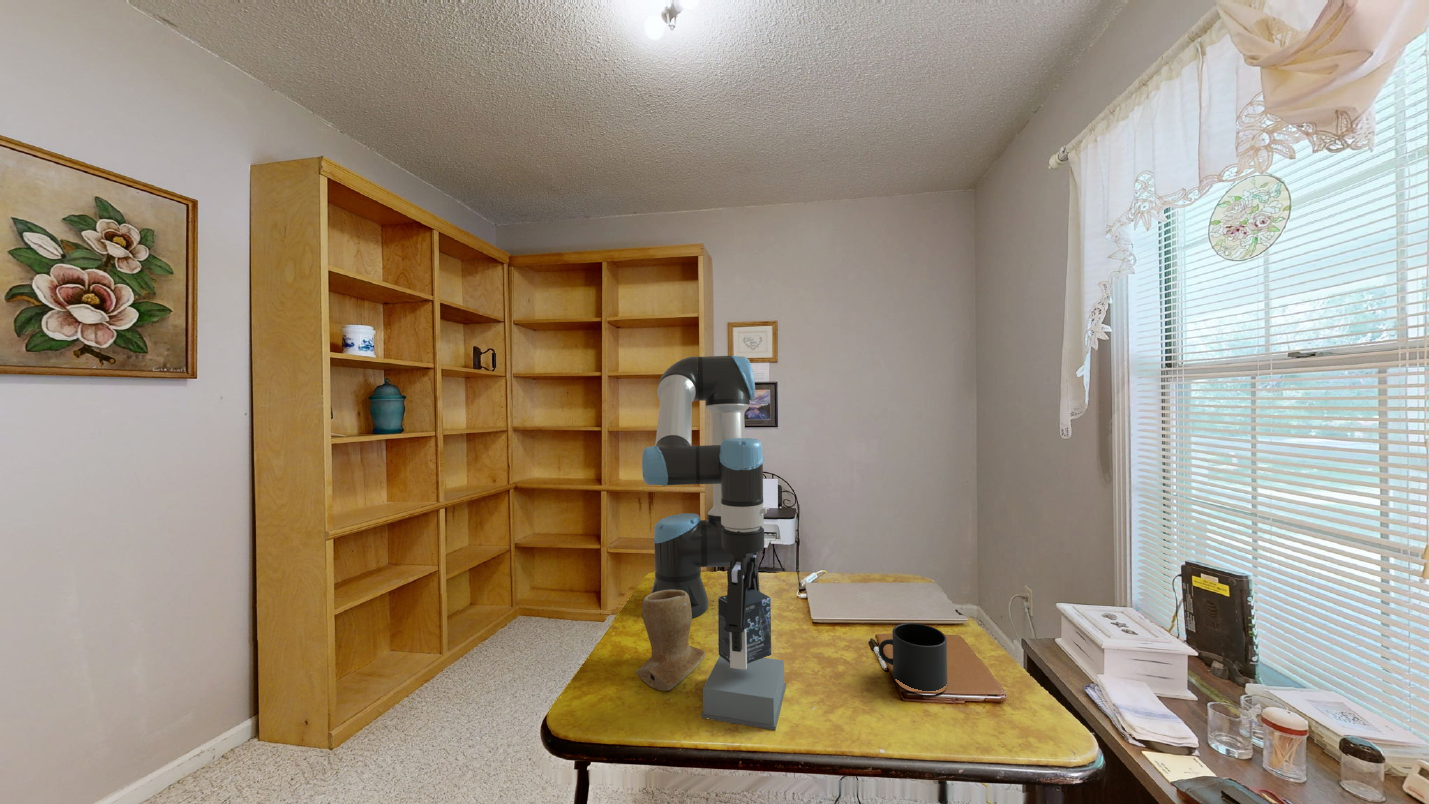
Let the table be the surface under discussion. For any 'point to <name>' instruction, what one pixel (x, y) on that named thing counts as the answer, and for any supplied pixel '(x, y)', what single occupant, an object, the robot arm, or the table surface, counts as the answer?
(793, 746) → the table surface
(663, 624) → the stone cup
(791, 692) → the table surface
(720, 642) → the box
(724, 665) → the plinth
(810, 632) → the table surface
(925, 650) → the mug
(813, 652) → the table surface
